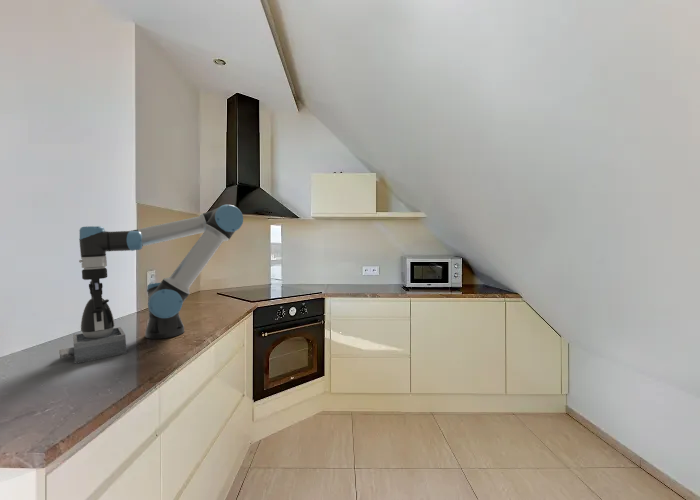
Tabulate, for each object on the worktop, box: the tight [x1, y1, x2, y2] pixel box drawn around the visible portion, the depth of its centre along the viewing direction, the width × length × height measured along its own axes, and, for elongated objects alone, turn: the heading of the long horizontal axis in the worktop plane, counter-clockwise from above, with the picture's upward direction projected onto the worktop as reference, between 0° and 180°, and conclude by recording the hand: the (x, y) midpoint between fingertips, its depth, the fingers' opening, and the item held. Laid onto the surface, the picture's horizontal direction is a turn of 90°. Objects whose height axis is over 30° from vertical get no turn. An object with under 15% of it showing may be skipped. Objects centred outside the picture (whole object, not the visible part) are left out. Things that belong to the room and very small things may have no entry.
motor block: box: [59, 326, 128, 364], centre depth 128 cm, size 19×15×7 cm
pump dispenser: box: [80, 297, 116, 339], centre depth 129 cm, size 10×10×15 cm
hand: (98, 327), depth 129 cm, fingers closed on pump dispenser, 10 cm apart
